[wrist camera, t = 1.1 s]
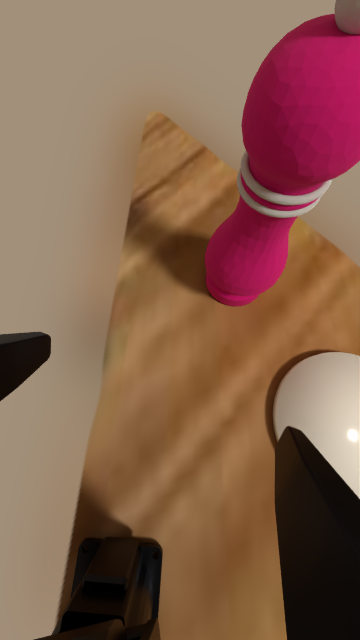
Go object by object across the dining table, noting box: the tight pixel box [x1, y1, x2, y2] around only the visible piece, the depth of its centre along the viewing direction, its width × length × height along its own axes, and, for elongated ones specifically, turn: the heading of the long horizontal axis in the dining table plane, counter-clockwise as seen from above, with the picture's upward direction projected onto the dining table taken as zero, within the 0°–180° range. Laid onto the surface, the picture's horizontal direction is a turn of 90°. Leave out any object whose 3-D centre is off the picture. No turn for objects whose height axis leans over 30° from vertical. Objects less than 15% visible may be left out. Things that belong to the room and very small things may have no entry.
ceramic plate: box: [273, 352, 360, 499], centre depth 20 cm, size 13×13×1 cm
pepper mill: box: [205, 0, 360, 306], centre depth 16 cm, size 7×7×20 cm
